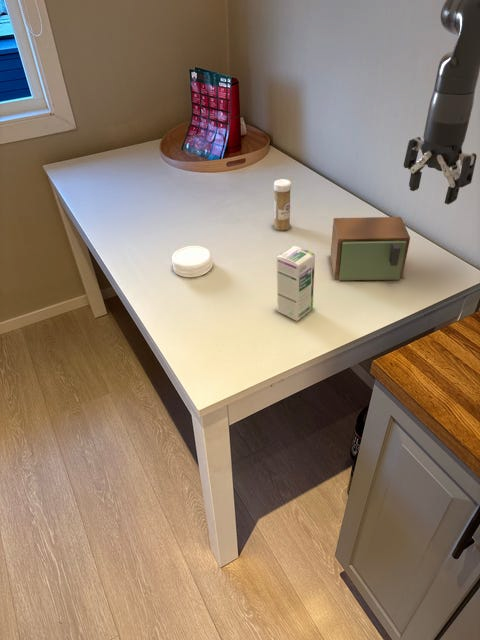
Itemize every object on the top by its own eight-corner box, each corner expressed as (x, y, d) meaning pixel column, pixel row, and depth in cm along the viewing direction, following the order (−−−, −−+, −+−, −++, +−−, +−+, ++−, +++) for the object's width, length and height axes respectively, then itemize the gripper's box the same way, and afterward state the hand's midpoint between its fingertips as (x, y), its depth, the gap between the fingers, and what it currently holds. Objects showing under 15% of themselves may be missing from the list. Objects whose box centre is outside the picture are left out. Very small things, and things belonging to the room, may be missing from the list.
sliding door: (398, 277, 115) (405, 240, 108) (401, 285, 112) (409, 248, 106) (338, 278, 116) (342, 241, 109) (340, 286, 113) (344, 249, 107)
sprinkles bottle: (285, 232, 135) (285, 186, 126) (270, 228, 137) (270, 183, 128) (293, 225, 138) (294, 180, 129) (279, 221, 140) (279, 177, 131)
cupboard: (393, 256, 123) (401, 216, 116) (402, 278, 115) (410, 237, 108) (330, 256, 124) (333, 218, 117) (334, 279, 116) (338, 238, 109)
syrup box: (297, 322, 105) (299, 265, 95) (276, 311, 108) (276, 255, 99) (313, 309, 108) (316, 253, 99) (291, 299, 111) (293, 244, 102)
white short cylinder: (187, 253, 129) (185, 241, 126) (219, 261, 125) (218, 249, 122) (165, 272, 122) (163, 260, 120) (199, 282, 118) (198, 269, 116)
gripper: (495, 119, 88) (472, 202, 98) (429, 103, 97) (414, 180, 107) (471, 129, 85) (449, 213, 95) (404, 111, 94) (391, 190, 104)
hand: (430, 196), depth 101 cm, fingers open, 8 cm apart
